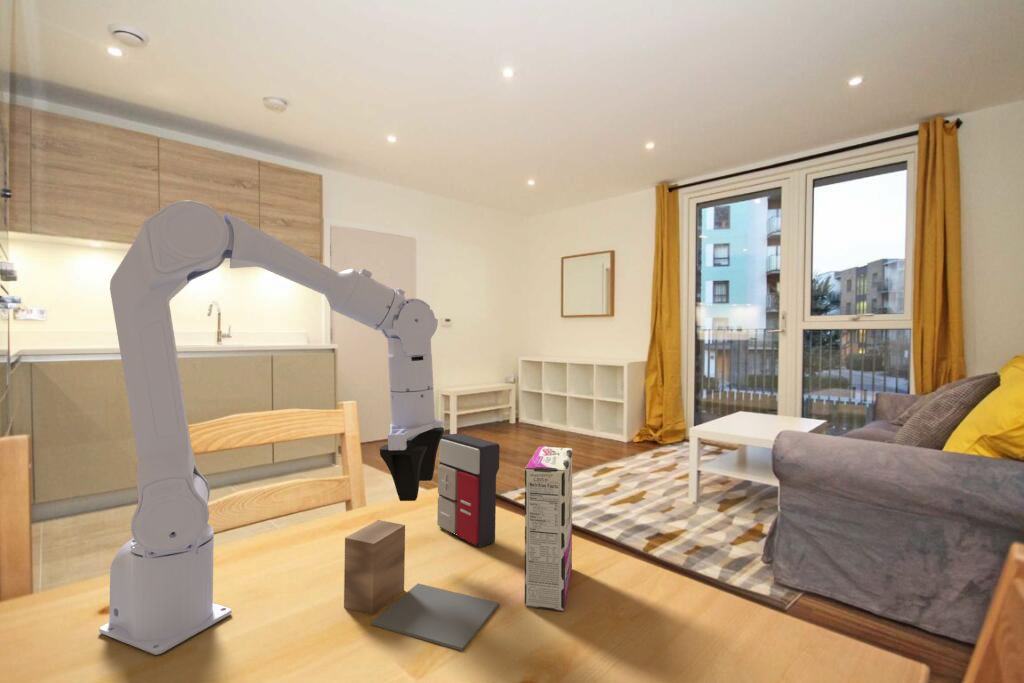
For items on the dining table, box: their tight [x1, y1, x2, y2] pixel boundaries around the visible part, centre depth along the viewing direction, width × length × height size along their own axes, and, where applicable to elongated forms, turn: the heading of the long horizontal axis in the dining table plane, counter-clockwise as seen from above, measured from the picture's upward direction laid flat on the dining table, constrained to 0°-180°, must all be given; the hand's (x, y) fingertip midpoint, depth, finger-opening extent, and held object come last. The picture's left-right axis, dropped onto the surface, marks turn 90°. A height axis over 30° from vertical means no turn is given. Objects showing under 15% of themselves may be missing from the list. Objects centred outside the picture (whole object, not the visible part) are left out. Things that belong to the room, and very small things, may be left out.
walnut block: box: [343, 519, 406, 617], centre depth 57 cm, size 4×6×8 cm, turn 158°
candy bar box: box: [524, 445, 573, 612], centre depth 61 cm, size 11×5×16 cm, turn 168°
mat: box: [371, 583, 500, 652], centre depth 54 cm, size 11×9×1 cm
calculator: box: [436, 433, 501, 548], centre depth 76 cm, size 11×4×15 cm, turn 43°
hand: (417, 489), depth 65 cm, fingers open, 7 cm apart
